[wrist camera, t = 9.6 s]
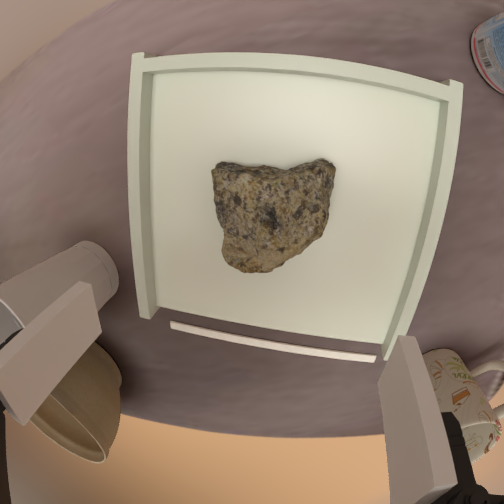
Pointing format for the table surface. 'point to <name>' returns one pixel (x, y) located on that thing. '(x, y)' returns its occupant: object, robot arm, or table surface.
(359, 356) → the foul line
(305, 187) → the rock
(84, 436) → the planter bowl
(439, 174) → the white square tray
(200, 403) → the table surface
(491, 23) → the pill bottle
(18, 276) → the cup
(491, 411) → the mug
